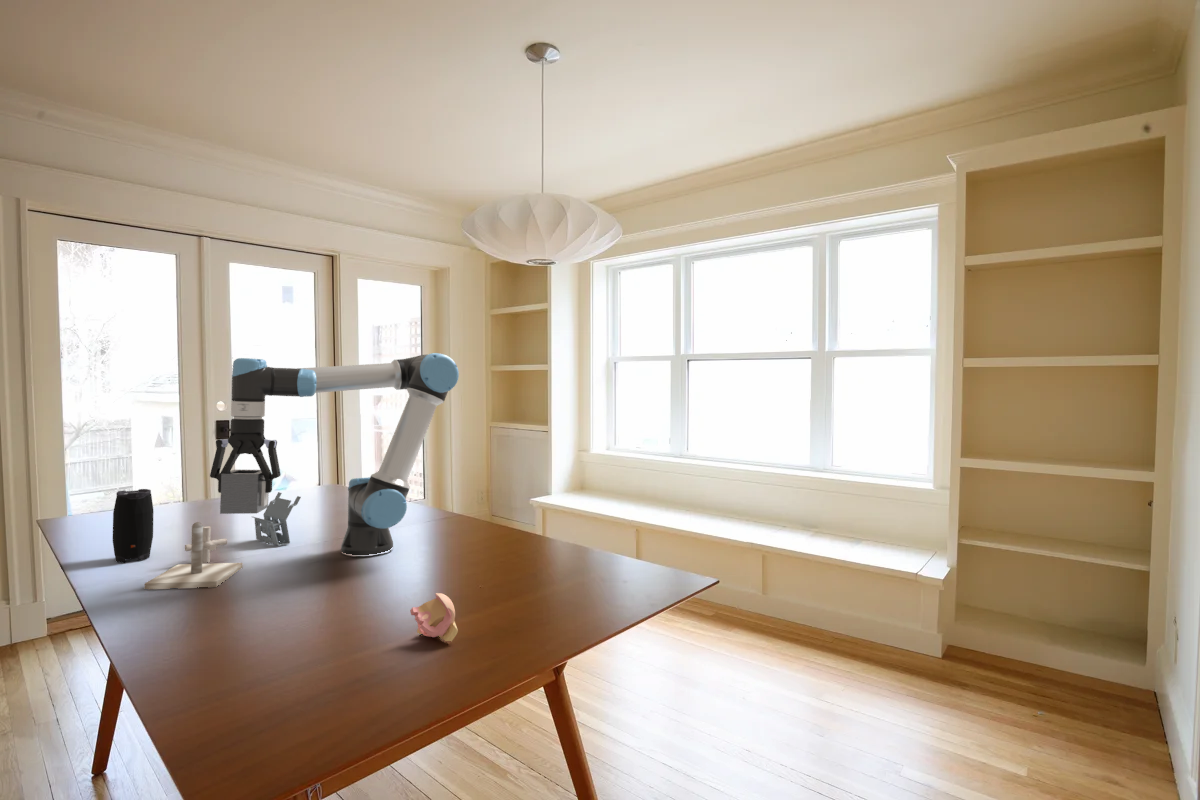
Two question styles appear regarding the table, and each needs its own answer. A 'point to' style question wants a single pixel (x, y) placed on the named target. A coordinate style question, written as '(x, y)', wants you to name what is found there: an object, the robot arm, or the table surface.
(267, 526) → the bracket
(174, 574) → the keeper board
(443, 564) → the table surface
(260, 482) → the gray open tub
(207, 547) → the wooden peg rack
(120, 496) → the portable speaker
